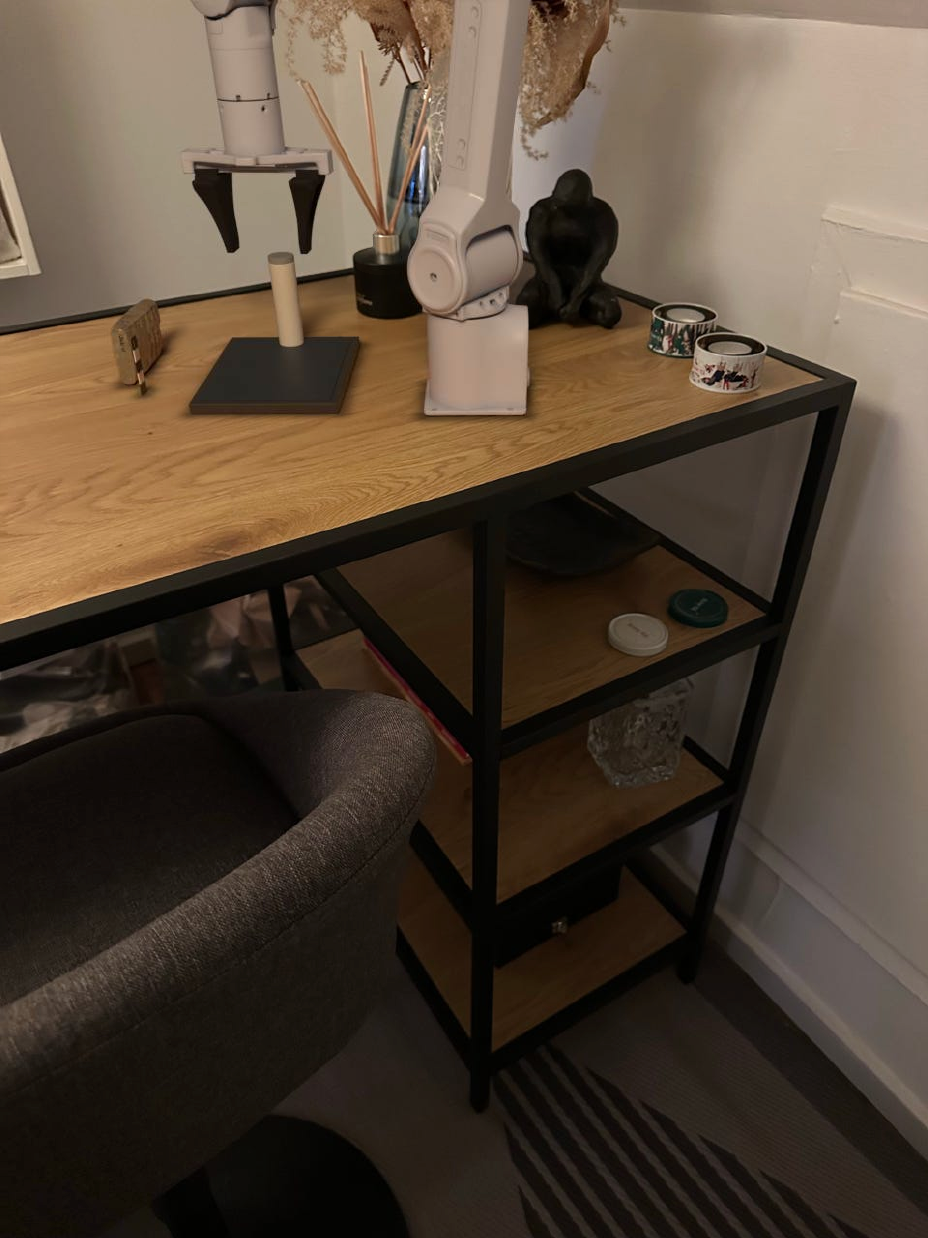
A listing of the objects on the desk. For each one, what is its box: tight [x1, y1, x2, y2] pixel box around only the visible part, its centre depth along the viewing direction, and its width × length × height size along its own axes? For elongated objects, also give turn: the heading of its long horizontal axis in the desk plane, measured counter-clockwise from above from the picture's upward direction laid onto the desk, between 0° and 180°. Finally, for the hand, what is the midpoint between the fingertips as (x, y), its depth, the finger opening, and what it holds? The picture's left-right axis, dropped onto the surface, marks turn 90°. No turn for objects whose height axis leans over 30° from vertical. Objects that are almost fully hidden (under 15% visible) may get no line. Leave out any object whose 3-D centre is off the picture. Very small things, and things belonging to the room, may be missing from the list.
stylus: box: [267, 251, 305, 347], centre depth 91 cm, size 3×3×9 cm
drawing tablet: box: [188, 336, 361, 415], centre depth 88 cm, size 14×18×1 cm
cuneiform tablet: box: [110, 298, 163, 396], centre depth 88 cm, size 6×4×12 cm
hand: (269, 251), depth 89 cm, fingers open, 7 cm apart
